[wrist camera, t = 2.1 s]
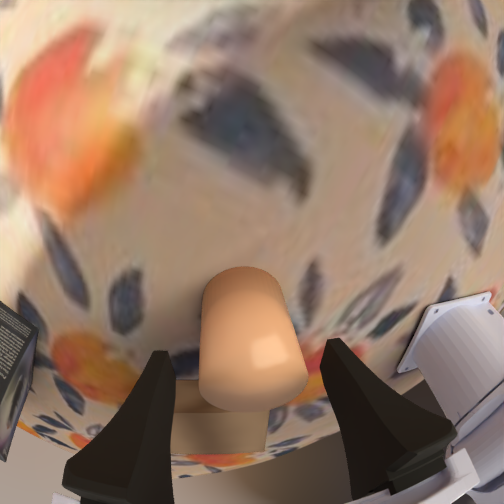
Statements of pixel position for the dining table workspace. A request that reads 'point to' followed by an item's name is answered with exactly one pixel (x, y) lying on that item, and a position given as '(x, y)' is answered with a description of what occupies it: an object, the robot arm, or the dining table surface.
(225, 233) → the dining table surface
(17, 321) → the small box
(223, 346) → the peach domed cylinder
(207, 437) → the tan square base block
